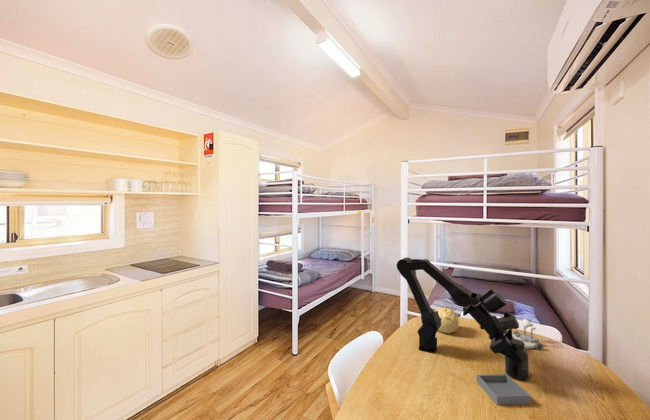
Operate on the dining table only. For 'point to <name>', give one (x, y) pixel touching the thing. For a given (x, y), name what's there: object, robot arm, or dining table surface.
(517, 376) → the supplement bottle
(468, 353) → the dining table surface
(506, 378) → the holder tray
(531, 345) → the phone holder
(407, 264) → the robot arm
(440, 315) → the sculpture
